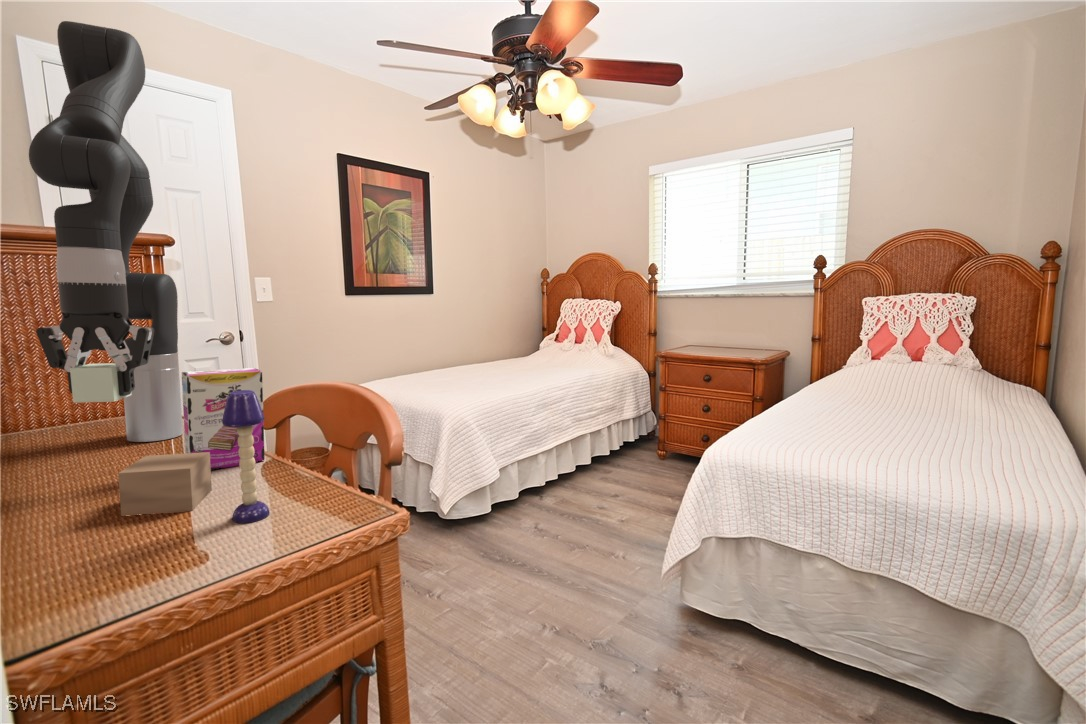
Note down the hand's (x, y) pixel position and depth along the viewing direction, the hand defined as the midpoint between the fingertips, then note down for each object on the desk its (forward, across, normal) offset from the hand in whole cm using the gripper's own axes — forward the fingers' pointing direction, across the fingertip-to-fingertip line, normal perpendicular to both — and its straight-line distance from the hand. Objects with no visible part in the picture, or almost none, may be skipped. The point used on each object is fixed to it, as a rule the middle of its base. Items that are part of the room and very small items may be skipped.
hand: (103, 395), depth 77 cm
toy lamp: (+14, -24, +19) cm, 33 cm away
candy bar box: (+14, -14, -6) cm, 21 cm away
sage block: (+1, 0, 0) cm, 1 cm away
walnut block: (+14, -12, +11) cm, 21 cm away
